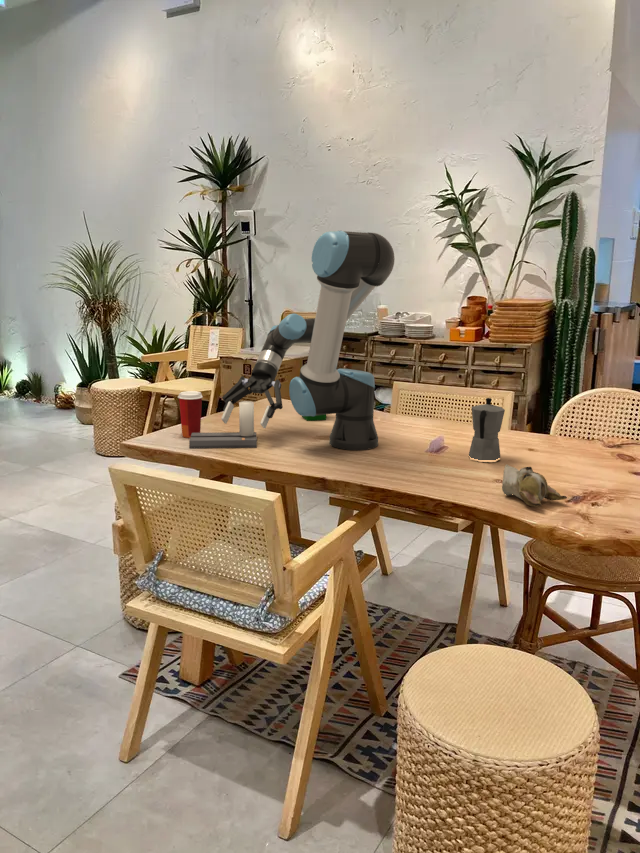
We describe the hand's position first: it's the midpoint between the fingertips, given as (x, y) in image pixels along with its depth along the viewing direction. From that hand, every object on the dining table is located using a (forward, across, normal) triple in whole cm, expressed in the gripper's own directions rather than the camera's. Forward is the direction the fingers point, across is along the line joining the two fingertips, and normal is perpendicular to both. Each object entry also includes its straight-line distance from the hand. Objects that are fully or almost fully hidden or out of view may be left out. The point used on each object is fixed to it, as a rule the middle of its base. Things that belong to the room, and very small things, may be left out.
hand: (243, 423), depth 205 cm
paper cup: (+3, +21, -7) cm, 22 cm away
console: (+6, +6, -4) cm, 9 cm away
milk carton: (-26, -3, -36) cm, 45 cm away
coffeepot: (-8, -69, -18) cm, 72 cm away
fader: (+3, 0, -6) cm, 7 cm away
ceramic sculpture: (+14, -86, +4) cm, 87 cm away
